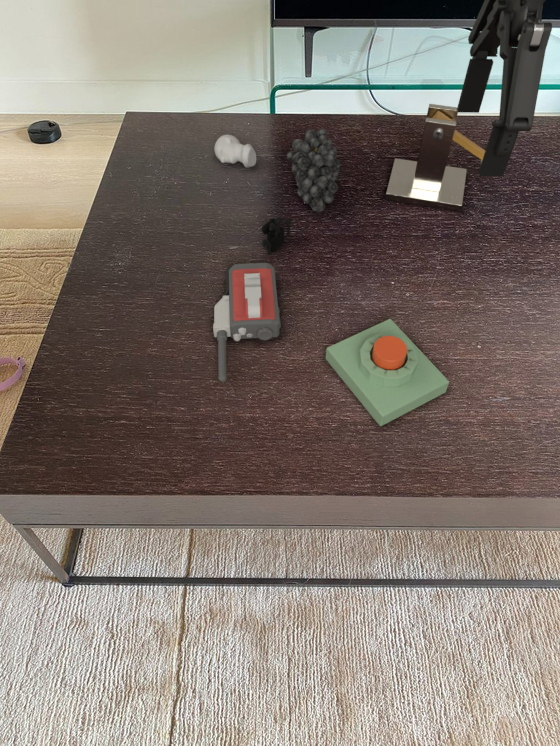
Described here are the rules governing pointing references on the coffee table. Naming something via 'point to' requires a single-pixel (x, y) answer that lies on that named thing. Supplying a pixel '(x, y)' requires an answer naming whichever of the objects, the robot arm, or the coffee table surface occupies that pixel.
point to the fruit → (315, 168)
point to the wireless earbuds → (275, 234)
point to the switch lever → (462, 139)
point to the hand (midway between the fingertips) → (478, 141)
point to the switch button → (389, 352)
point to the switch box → (385, 374)
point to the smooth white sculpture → (234, 151)
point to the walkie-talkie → (246, 308)
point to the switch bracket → (430, 168)
